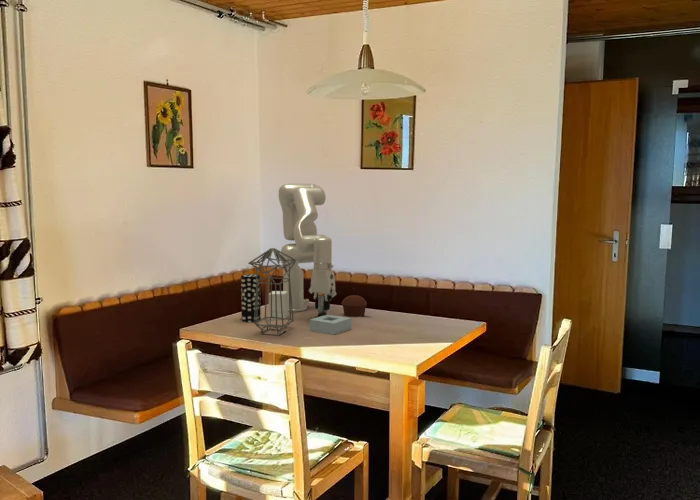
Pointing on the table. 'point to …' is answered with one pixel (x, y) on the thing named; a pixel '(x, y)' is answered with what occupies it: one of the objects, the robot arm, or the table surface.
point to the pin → (321, 305)
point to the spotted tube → (249, 297)
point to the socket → (330, 324)
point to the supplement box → (278, 305)
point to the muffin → (354, 306)
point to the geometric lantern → (282, 259)
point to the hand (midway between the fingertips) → (322, 308)
